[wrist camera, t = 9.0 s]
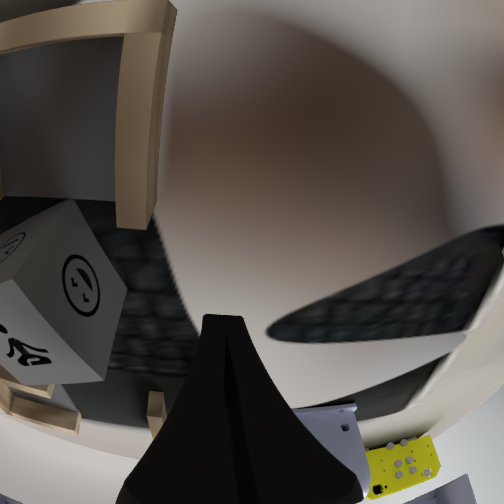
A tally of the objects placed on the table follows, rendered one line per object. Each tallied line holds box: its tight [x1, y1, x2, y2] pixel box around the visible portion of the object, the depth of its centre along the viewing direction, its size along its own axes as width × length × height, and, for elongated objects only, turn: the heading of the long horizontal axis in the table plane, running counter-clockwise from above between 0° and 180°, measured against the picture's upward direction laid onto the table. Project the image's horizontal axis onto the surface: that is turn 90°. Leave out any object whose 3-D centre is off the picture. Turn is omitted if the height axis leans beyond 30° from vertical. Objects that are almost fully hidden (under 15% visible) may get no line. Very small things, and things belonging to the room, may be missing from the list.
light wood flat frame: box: [0, 0, 177, 440], centre depth 13 cm, size 16×28×2 cm, turn 170°
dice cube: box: [0, 199, 127, 386], centre depth 10 cm, size 5×5×5 cm
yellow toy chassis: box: [364, 435, 441, 500], centre depth 33 cm, size 16×6×8 cm, turn 75°
